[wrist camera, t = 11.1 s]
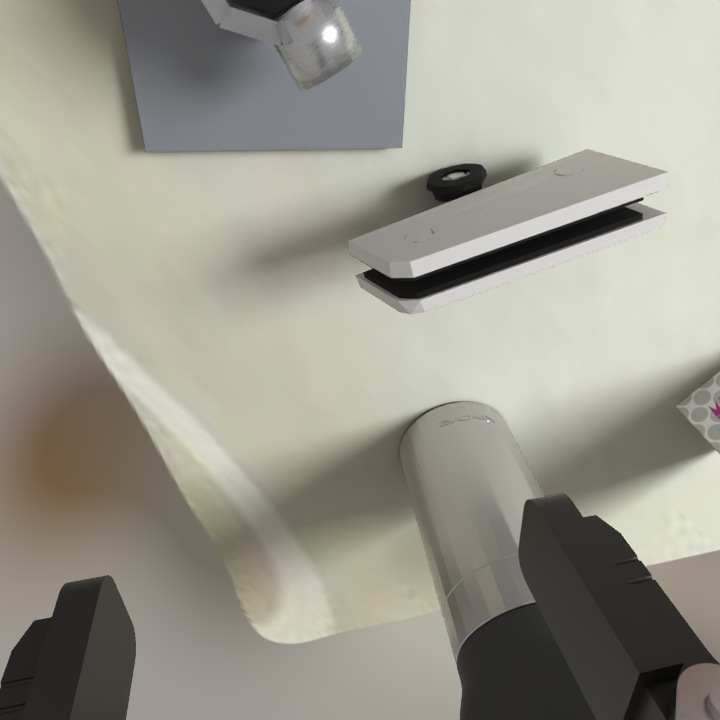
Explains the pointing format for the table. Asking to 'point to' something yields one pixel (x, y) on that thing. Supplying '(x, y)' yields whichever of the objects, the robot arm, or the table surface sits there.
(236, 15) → the grey octagonal hollow block
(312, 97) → the panel
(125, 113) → the table surface
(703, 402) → the box
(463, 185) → the bracket
